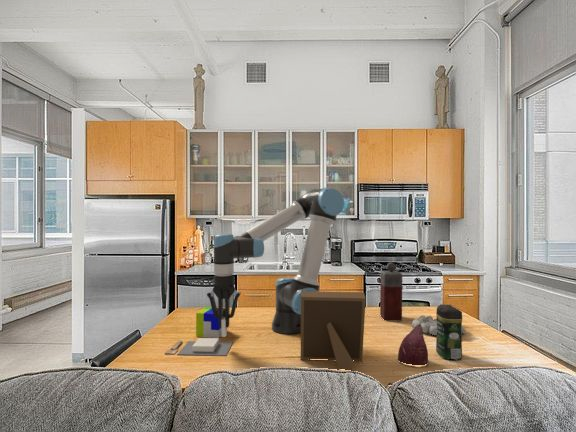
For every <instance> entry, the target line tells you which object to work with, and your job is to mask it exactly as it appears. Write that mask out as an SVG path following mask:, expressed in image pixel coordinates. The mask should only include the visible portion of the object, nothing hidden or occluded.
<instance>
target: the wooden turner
mask: <svg viewBox="0 0 576 432" xmlns="http://www.w3.org/2000/svg"><path fill="white" fill-rule="evenodd" d="M181 343H182V344H183V340H177V341H176V342H175V343H174V345H172V347H171V348H168V349H167V350H166V351H165V352H164V355H168V356H169V355H173V356H174V355H175V354H176V353H178V352H179V349H178V348H179V347H180V346H181Z"/></svg>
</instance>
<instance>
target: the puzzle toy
mask: <svg viewBox="0 0 576 432" xmlns="http://www.w3.org/2000/svg"><path fill="white" fill-rule="evenodd" d="M217 311H218V307H217ZM218 314H219V313H218ZM195 315H196V316H195V317H196V318H195V324H196V325H195V332H196V333H195V337H197V338H219V339H220V337H222V330H221V327H219V319H218V318H215V317H214V315H213V311H212V307H209V306H205V307H203V308H202V309H201V310H199V311H197V312H196V313H195ZM223 318H225V307H223Z"/></svg>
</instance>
